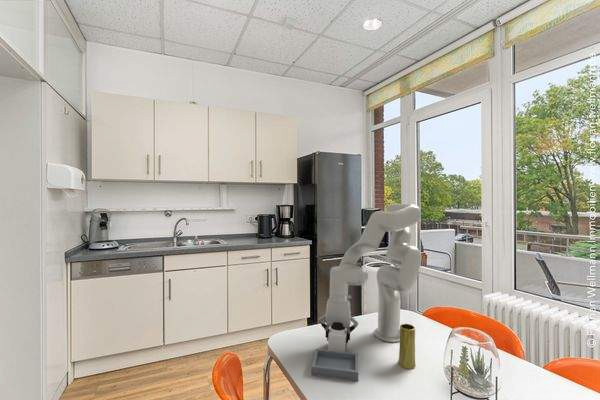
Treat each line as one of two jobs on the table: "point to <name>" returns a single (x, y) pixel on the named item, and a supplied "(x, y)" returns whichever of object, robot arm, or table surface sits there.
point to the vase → (407, 346)
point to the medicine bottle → (337, 337)
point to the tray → (335, 364)
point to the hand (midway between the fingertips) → (337, 340)
